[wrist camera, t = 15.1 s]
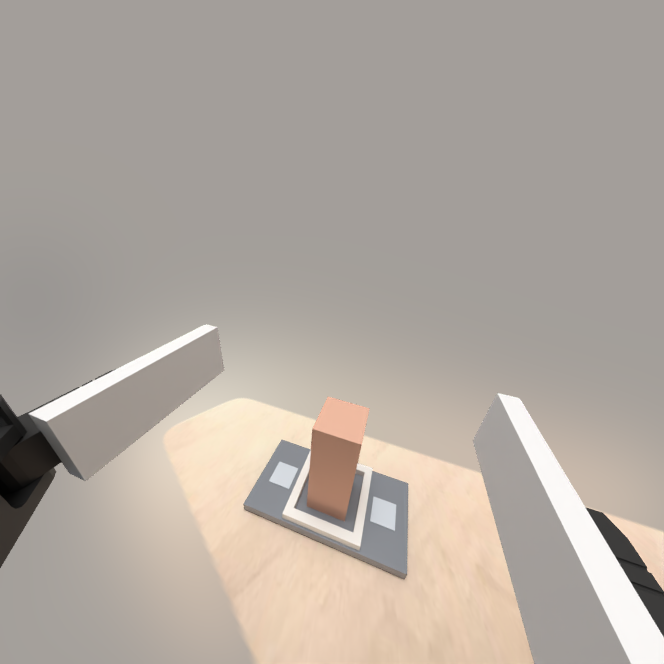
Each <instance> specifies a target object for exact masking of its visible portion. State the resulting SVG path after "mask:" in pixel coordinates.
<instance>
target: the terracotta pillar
mask: <svg viewBox="0 0 664 664" xmlns="http://www.w3.org/2000/svg"><path fill="white" fill-rule="evenodd" d="M368 413H369V408H366V407H363V406H359V405H355V404H352V403H349V402H345V401H341V400H338V399H335V398H331V397H327V399H326V402H325V404H324V406H323V408H322V410H321V412H320V414H319V416H318V418H317V420H316V422H315V425H314V427H313V429H312V442H311V455H310V468H309V482H308V495H307V507H310V508H312V509H315V510H317V511H320V512H322V513H325V514H327V515H330V516H332V517H335V518H337V519H339V520H342V521H344V522H345V518H346V513H347V509H348V504H349V500H350V495H351V491H352V486H353V482H354V477H355V473H356V468H357V463H358V459H359V454H360V450H361V445H362V441H363V436H364V431H365V427H366V422H367V418H368Z"/></svg>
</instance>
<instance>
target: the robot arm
mask: <svg viewBox="0 0 664 664" xmlns="http://www.w3.org/2000/svg"><path fill="white" fill-rule="evenodd" d="M223 371H224V367H223V360H222V354H221V347H220V340H219V334H218V328H217V327H214V326H210V325H206V324H205V325H203V326H201V327H199V328H197V329H195V330H193V331H191V332H189V333H187V334H185V335H183V336H181V337H179V338H177V339H175V340H174V341H171V342H170V343H167V344H165V345H164V346H161V347H160V348H158V349H156V350H154V351H152V352H150V353H148V354H146V355H144V356H142V357H140V358H138V359H136V360H134V361H132V362H130V363H128V364H126V365H124V366H122V367H120V368H118V369H115V370H112V371H110V372H108V373H106V374H104V375H102V376H100V377H98V378H96V379H95V380H94V381H90V382H88V383H86V384H84V385H82V387H78V388H76V389H74V390H72V391H70V392H68V393H66V394H64V395H62V396H60V397H58V398H56V399H54V400H52V401H50V402H48V403H46V404H44V405H42V406H40V407H38V408H36V409H34V410H32V411H30V412H28V413H25V414H23V415H21V416H19V417H17V416H16V415H15V413H14V412H13V411H12V409H11V408H10V406H9V405H8V404H7V402H6V401H5V400H4V398H3V397H2V396H1V395H0V568H1V566H2V564H3V563H4V561H5V559H6V558H7V556H8V554H9V553H10V551H11V549H12V548H13V546H14V544H15V542H16V541H17V539H18V537H19V536H20V534H21V532H22V531H23V529H24V527H25V526H26V524H27V522H28V521H29V519H30V517H31V516H32V514H33V512H34V511H35V509H36V507H37V506H38V504H39V502H40V501H41V499H42V497H43V495H44V494H45V492H46V490H47V489H48V487H49V485H50V484H51V482H52V480H53V479H54V476H55V473H56V471H55V469H54V467H55V466H56V465H58V464H59V463H61V462H62V463H63V465H64V466H65V468H66V469H67V470H68V472H69V473H70V474H72V475H74V476H76V477H78V478H80V479H82V480H84V481H86V480H88V479H89V478H90V477H91V476H93V475H94V474H95V473H96V472H98V471H99V470H100V469H101V468H103V467H104V466H105V465H106V464H108V463H109V462H110V461H111V460H113V459H114V458H115V457H116V456H118V455H119V454H120V453H121V452H123V451H124V450H125V449H126V448H128V447H129V446H130V445H131V444H133V443H134V442H135V441H136V440H138V439H139V438H140V437H141V436H143V435H144V434H145V433H146V432H148V431H149V430H150V429H151V428H153V427H154V426H155V425H156V424H158V423H159V422H160V421H161V420H163V419H164V418H165V417H166V416H168V415H169V414H170V413H171V412H173V411H174V410H175V409H176V408H178V407H179V406H180V405H181V404H183V403H184V402H185V401H186V400H188V399H189V398H190V397H191V396H193V395H194V394H195V393H196V392H198V391H199V390H200V389H201V388H202V387H204V386H205V385H206V384H208V383H209V382H210V381H211V380H213V379H214V378H215V377H216V376H218V375H219V374H220V373H221V372H223ZM473 443H474V447H475V450H476V454H477V458H478V461H479V465H480V468H481V472H482V476H483V479H484V483H485V487H486V490H487V494H488V497H489V501H490V505H491V508H492V512H493V516H494V519H495V523H496V526H497V530H498V534H499V537H500V541H501V545H502V548H503V552H504V555H505V559H506V563H507V566H508V570H509V574H510V577H511V581H512V584H513V588H514V592H515V595H516V599H517V603H518V606H519V610H520V613H521V617H522V621H523V624H524V628H525V631H526V635H527V639H528V642H529V646H530V650H531V653H532V657H533V660H534V664H664V591H663V590H662V588H661V587H660V586H659V584H658V583H657V581H656V580H655V578H654V577H653V575H652V574H651V573H649V572H648V571H647V566H646V565H645V563H644V562H643V560H642V559H641V557H640V556H639V555H638V553H637V552H636V550H635V549H634V547H633V546H632V544H631V543H630V541H629V540H628V538H627V537H626V536H625V535H624V534H623V533H622V532H621V531H620V530H619V529H618V528H617V527H616V526H615V525H614V524H613V523H612V522H611V521H610V520H609V519H608V518H607V517H606V516H605V515H604V514H603V513H602V512H599V511H595V510H592V509H589V508H586V507H585V506H584V504H583V503H582V501H581V499H580V498H579V496H578V494H577V493H576V491H575V490H574V488H573V486H572V485H571V483H570V481H569V480H568V478H567V476H566V475H565V473H564V471H563V470H562V468H561V466H560V465H559V463H558V461H557V460H556V458H555V456H554V455H553V453H552V451H551V450H550V448H549V446H548V445H547V443H546V442H545V440H544V438H543V437H542V435H541V433H540V431H539V430H538V428H537V426H536V425H535V423H534V422H533V420H532V418H531V417H530V415H529V413H528V412H527V410H526V408H525V407H524V405H523V403H522V402H521V400H520V399H519V398H516V397H512V396H508V395H503V394H499V393H497V395H496V397H495V399H494V401H493V403H492V405H491V406H490V408H489V410H488V412H487V414H486V416H485V418H484V420H483V422H482V424H481V426H480V428H479V430H478V431H477V434H476V435H475V437H474V439H473Z"/></svg>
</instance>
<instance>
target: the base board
mask: <svg viewBox="0 0 664 664" xmlns="http://www.w3.org/2000/svg"><path fill="white" fill-rule="evenodd" d="M310 455H311V450H310V449H307V448H304V447H302V446H299V445H296V444H293V443H290V442H287V441H284V440H281V442H280V443H279V445H278V447H277V449H276V450H275V452H274V454H273V455H272V457H271V459H270V460H269V462H268V464H267V465H266V467H265V469H264V470H263V472H262V474H261V475H260V477H259V479H258V480H257V482H256V484H255V486H254V487H253V489H252V491H251V492H250V494H249V496H248V497H247V499H246V501H245V502H244V509H245V510H247V511H250V512H252V513H254V514H256V515H259V516H261V517H263V518H266V519H268V520H270V521H272V522H275V523H277V524H279V525H282V526H284V527H286V528H288V529H291V530H293V531H295V532H298V533H300V534H302V535H304V536H307V537H309V538H311V539H314V540H316V541H318V542H320V543H323V544H325V545H327V546H330V547H332V548H334V549H336V550H339V551H341V552H343V553H346V554H348V555H350V556H352V557H355V558H357V559H359V560H362V561H364V562H366V563H368V564H371V565H373V566H375V567H378V568H380V569H382V570H384V571H387V572H389V573H391V574H394V575H396V576H398V577H400V578H403V579H405V577H406V575H407V530H408V483H405V482H403V481H400V480H397V479H394V478H391V477H388V476H385V475H382V474H379V473H377V472H374V471H372V469H373V468H371V467H368V466H365V465H362V464H359V463H357V468H356V473H355V477H354V482H353V486H352V491H351V495H350V500H349V504H348V509H347V513H346V518H345V522H344V521H342V520H339V519H337V518H335V517H332V516H330V515H327V514H325V513H322V512H320V511H317V510H315V509H312V508H310V507H307V495H308V482H309V468H310Z"/></svg>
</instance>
